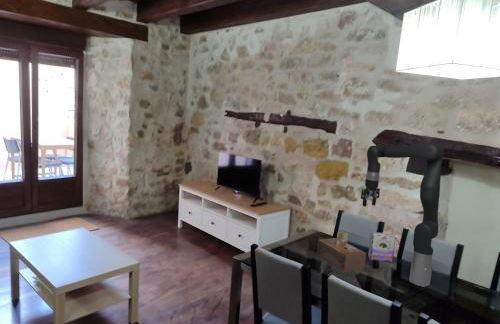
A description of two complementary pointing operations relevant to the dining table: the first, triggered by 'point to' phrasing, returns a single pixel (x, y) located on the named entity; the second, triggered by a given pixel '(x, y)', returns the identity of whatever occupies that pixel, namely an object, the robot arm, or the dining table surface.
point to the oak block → (342, 239)
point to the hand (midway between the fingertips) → (369, 205)
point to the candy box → (381, 247)
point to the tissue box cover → (341, 255)
